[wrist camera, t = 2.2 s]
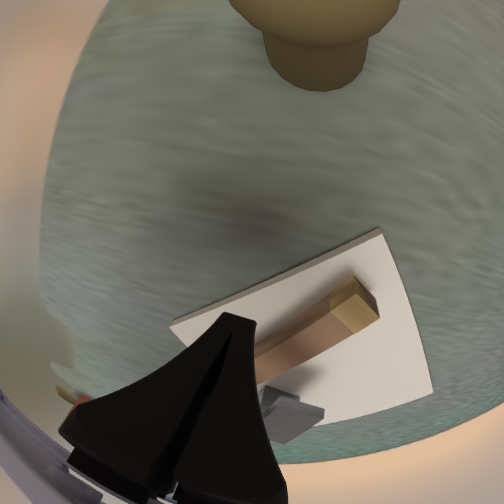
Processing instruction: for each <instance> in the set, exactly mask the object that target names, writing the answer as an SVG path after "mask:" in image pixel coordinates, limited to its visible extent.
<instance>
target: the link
mask: <svg viewBox="0 0 504 504" xmlns="http://www.w3.org/2000/svg"><path fill="white" fill-rule="evenodd" d="M379 318H380V315H379V310H378V306H377V301H376V298H375V297H374V296H373V295H372V294H371V293H370V292H369V291H368V289H367V288H366V287H365V286H364V285H363V284H362V283H361V282H360V281H359V280H358V279H357V278H356V277H355V276H354V275H352V276H351V277H349V278H348V279H347V280H345V281H344V282H343V283H341V284H340V285H339V286H337V287H336V288H335V289H333V290H332V291H331V292H330V293H329V294H328V295H326V296H325V297H324V298H322V299H321V300H319V301H318V302H317V303H315V304H314V305H312V306H311V307H310V308H308V309H307V310H305V311H304V312H302V313H301V314H299V315H298V316H296V317H295V318H294V319H292V320H291V321H289V322H288V323H286V324H285V325H283V326H282V327H280V328H279V329H277V330H275V331H274V332H272V333H271V334H269V335H268V336H266V337H265V338H263V339H261V340H260V341H258V342H257V343H255V344H254V362H255V376H256V384H257V385H259V384H261V383H263V382H265V381H267V380H269V379H272V378H274V377H276V376H278V375H280V374H282V373H284V372H286V371H288V370H290V369H292V368H294V367H296V366H298V365H300V364H302V363H304V362H306V361H307V360H309V359H311V358H313V357H315V356H317V355H319V354H320V353H322V352H324V351H326V350H327V349H329V348H331V347H333V346H334V345H336V344H338V343H340V342H341V341H343V340H345V339H346V338H348V337H350V336H351V335H353V334H356V333H358V332H359V331H361V330H362V329H364V328H366V327H367V326H369V325H370V324H372V323H373V322H375V321H376V320H378V319H379Z"/></svg>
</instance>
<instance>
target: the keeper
mask: <svg viewBox="0 0 504 504" xmlns="http://www.w3.org/2000/svg"><path fill="white" fill-rule="evenodd" d="M258 398H259V403H260V408H261V412H262V417H263V421H264V425H265V428H266V431H267V435H268V438H269V440H270V441H274V442H278V443H281V444H285V443H287V442H289V441H290V440H292V439H294V438H295V437H297V436H298V435H300V434H302V433H303V432H305V431H306V430H308V429H309V428H311V427H312V426H314V425H315V424H317V423H318V422H320V421H321V420H323V419H324V413H325V409H324V408H320V407H317V406H313V405H310V404H307V403H303V402H300V396H297V395H294V394H291V393H288V392H285V391H282V390H279V389H276V388H273V387H271V386H268V385H265V386H264V387H263V388H262V389H261V391H260V392H259V393H258Z"/></svg>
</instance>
